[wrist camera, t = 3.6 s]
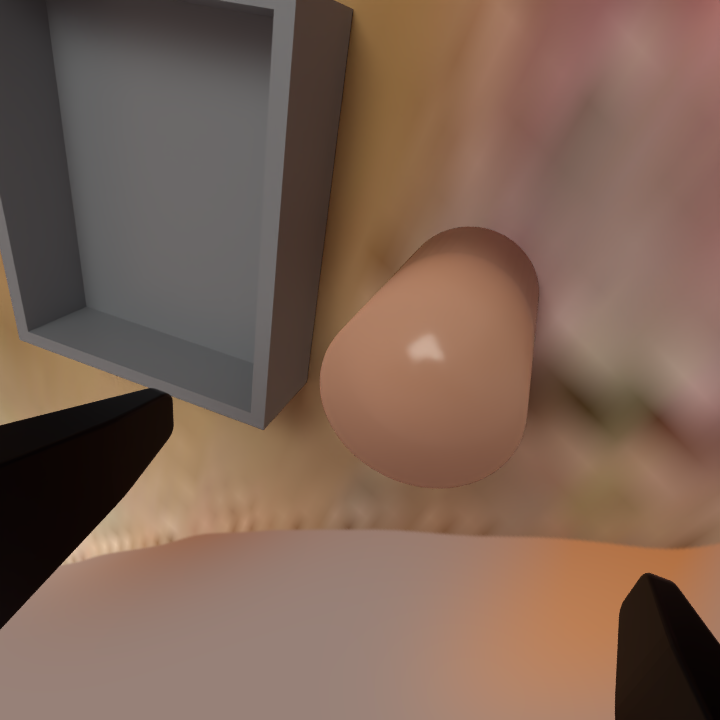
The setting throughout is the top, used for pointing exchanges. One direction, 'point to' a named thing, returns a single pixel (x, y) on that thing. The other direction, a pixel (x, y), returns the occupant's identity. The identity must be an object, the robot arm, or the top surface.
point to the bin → (171, 188)
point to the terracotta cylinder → (438, 363)
